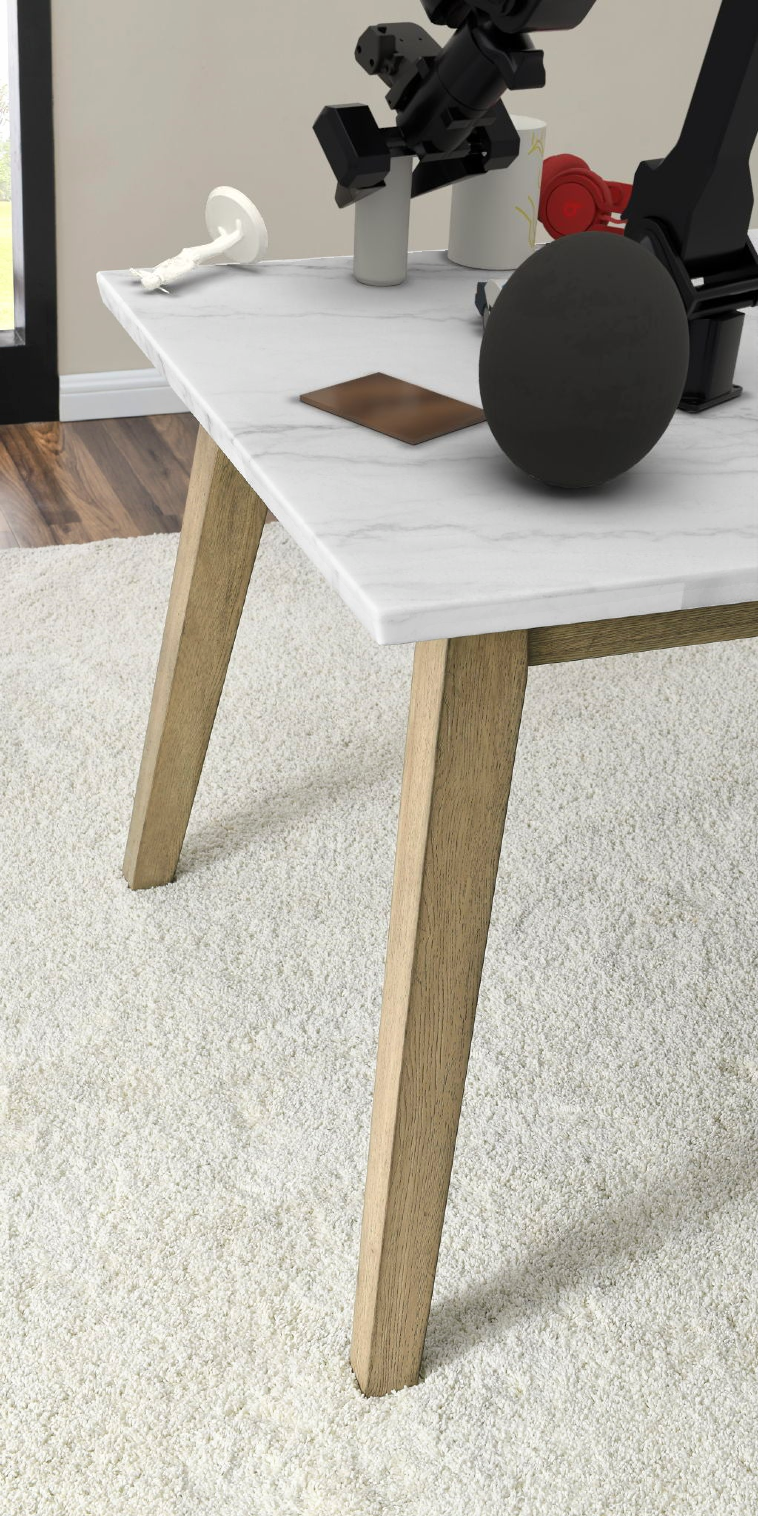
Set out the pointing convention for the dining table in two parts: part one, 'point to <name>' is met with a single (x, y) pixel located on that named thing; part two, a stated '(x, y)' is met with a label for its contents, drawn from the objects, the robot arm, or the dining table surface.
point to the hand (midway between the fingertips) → (373, 198)
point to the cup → (500, 207)
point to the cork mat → (395, 407)
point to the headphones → (578, 198)
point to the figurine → (217, 238)
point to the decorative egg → (583, 359)
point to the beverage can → (384, 229)
